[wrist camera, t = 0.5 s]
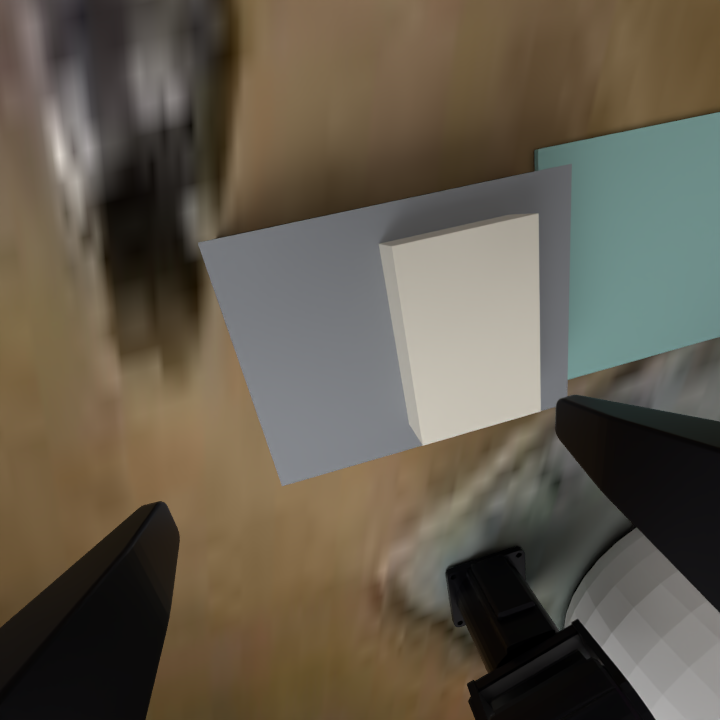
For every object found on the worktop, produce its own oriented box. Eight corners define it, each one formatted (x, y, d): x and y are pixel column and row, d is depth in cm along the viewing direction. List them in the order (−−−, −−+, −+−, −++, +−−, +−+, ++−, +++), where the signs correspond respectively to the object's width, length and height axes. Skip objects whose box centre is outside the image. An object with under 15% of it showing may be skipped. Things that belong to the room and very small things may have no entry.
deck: (523, 375, 24) (566, 403, 21) (282, 443, 22) (282, 486, 19) (517, 174, 20) (571, 163, 16) (215, 238, 18) (197, 243, 14)
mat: (729, 331, 26) (734, 332, 26) (537, 385, 25) (540, 387, 24) (774, 101, 21) (781, 99, 21) (534, 150, 19) (538, 149, 19)
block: (516, 393, 20) (540, 411, 18) (409, 423, 19) (422, 445, 17) (509, 214, 16) (538, 213, 14) (378, 243, 16) (391, 246, 14)
